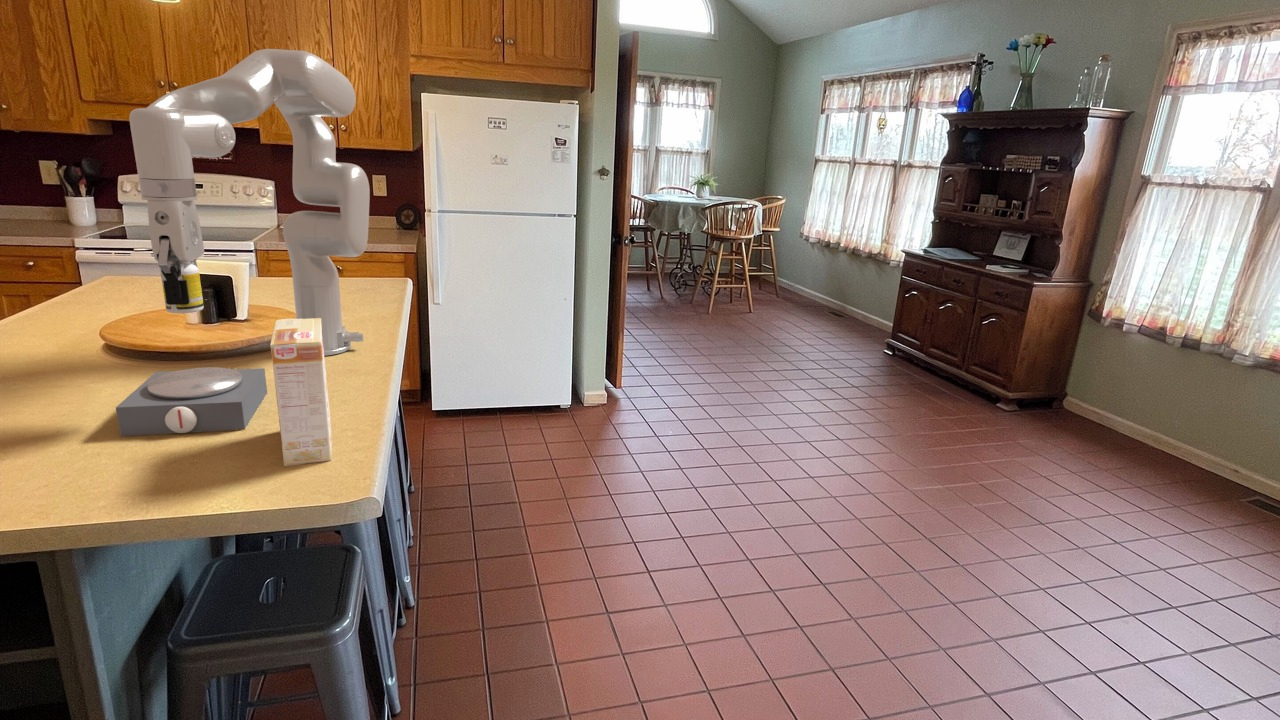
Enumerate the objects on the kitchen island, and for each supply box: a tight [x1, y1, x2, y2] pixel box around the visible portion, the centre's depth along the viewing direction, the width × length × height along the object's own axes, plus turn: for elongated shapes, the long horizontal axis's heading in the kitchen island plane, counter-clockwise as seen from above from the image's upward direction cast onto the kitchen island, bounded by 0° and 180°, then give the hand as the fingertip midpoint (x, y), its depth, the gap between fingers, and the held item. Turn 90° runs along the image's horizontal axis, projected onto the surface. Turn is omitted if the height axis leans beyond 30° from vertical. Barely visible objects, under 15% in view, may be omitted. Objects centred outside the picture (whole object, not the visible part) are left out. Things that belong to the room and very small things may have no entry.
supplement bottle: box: [160, 258, 205, 314], centre depth 117 cm, size 5×5×10 cm
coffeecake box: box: [269, 318, 333, 467], centre depth 111 cm, size 15×7×20 cm, turn 23°
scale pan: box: [147, 366, 242, 399], centre depth 122 cm, size 14×14×1 cm
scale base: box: [115, 368, 268, 437], centre depth 123 cm, size 18×19×5 cm
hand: (184, 298), depth 118 cm, fingers closed on supplement bottle, 5 cm apart
